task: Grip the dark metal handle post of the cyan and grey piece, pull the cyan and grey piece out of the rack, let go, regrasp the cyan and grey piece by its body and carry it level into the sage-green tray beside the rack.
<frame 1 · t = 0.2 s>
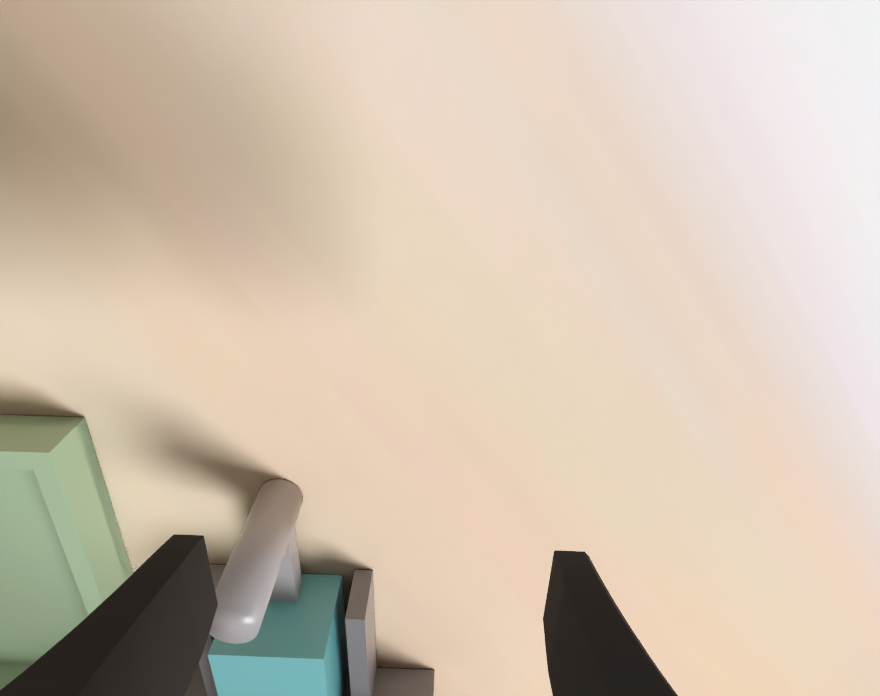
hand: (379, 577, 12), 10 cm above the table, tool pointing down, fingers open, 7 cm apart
cyan and grey piece: (297, 618, 27), on the table
tray: (10, 555, 26), on the table
rack: (297, 618, 27), on the table
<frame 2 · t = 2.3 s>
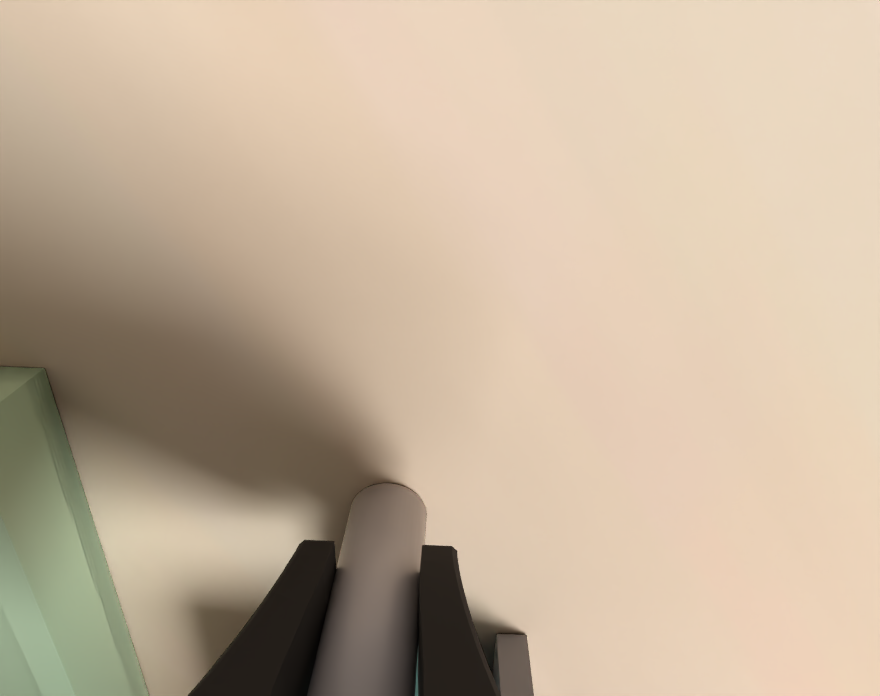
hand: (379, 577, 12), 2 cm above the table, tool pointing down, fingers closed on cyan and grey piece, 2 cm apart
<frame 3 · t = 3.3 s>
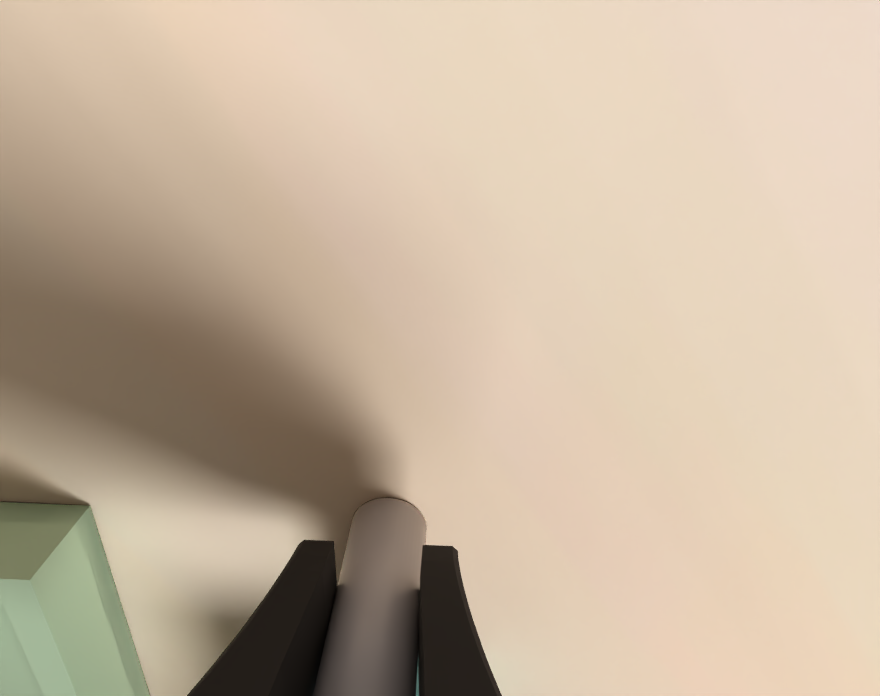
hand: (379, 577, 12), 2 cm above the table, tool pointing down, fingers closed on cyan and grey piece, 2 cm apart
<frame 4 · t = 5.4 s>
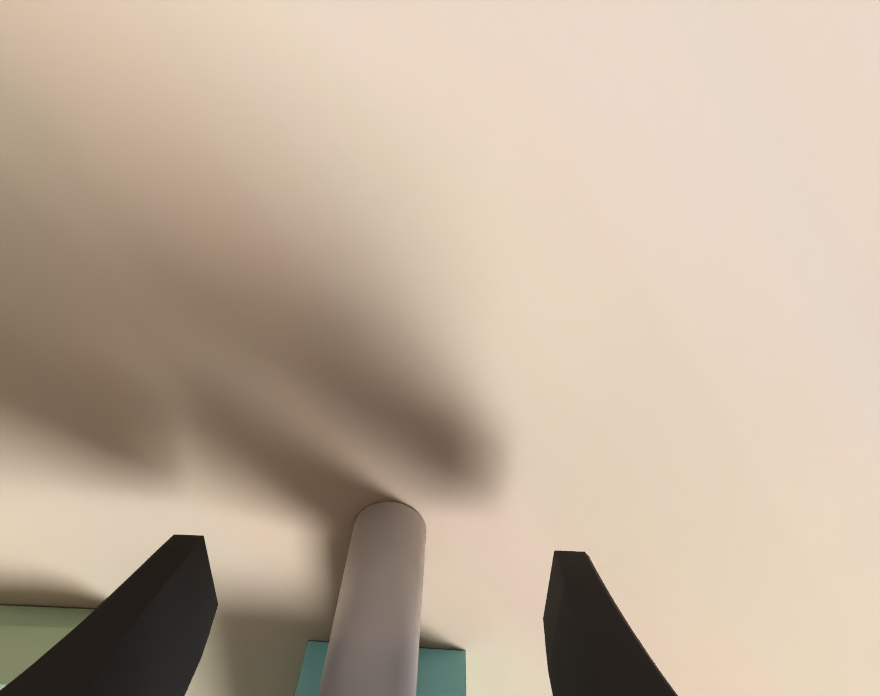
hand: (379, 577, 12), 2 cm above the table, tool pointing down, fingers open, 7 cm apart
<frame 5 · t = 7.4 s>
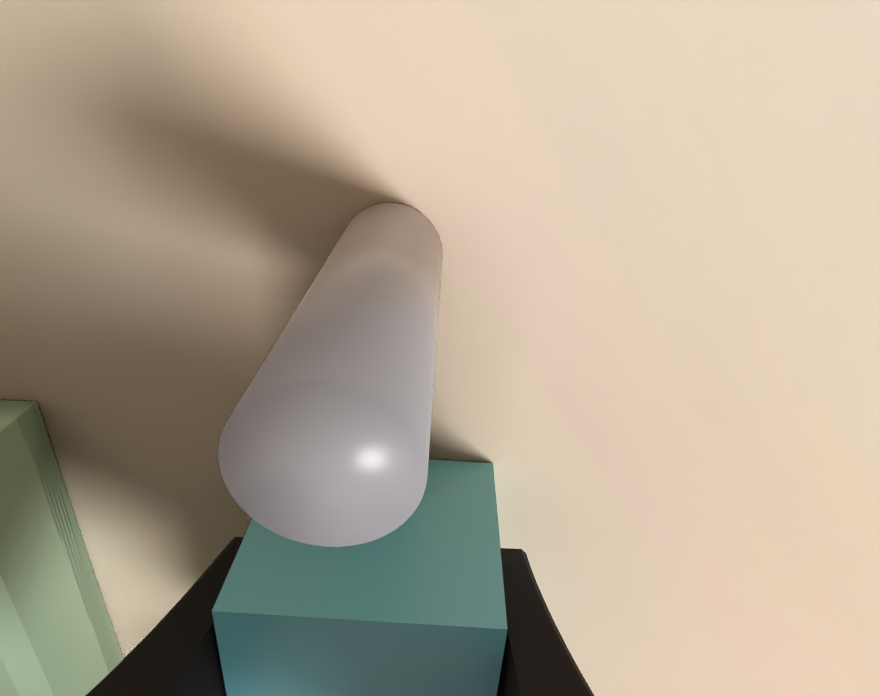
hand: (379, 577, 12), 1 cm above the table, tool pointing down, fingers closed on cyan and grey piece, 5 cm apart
cyan and grey piece: (385, 558, 14), on the table, touching gripper
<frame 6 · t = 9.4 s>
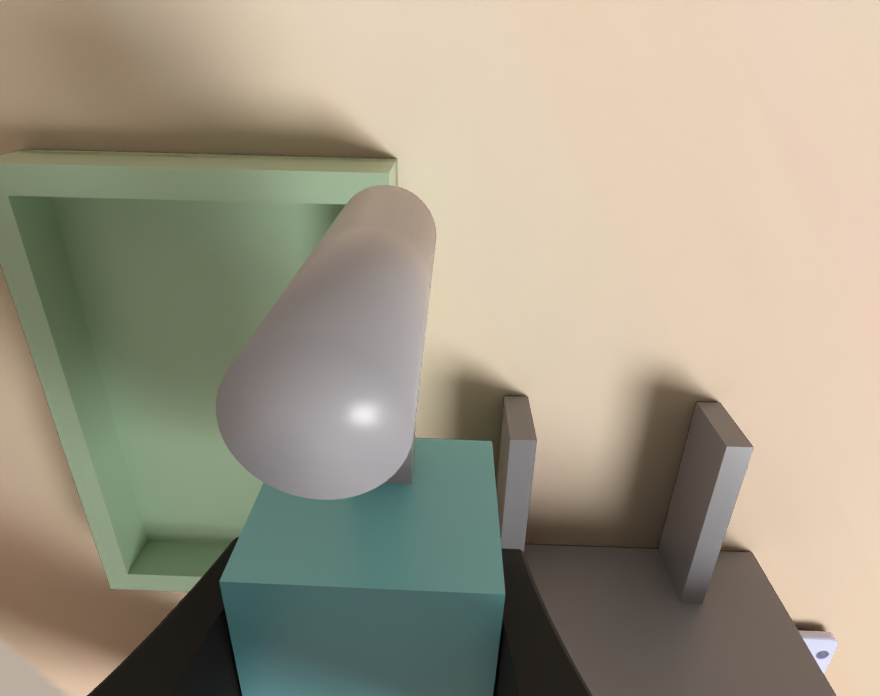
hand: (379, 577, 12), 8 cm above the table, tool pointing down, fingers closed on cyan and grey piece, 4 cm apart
cyan and grey piece: (389, 538, 14), point 7 cm above the table, touching gripper
tray: (245, 385, 20), on the table
rack: (597, 478, 21), on the table
when the fingers open (3 cm above the table, at t = 11.6 s): cyan and grey piece stays where it is, resting on tray.
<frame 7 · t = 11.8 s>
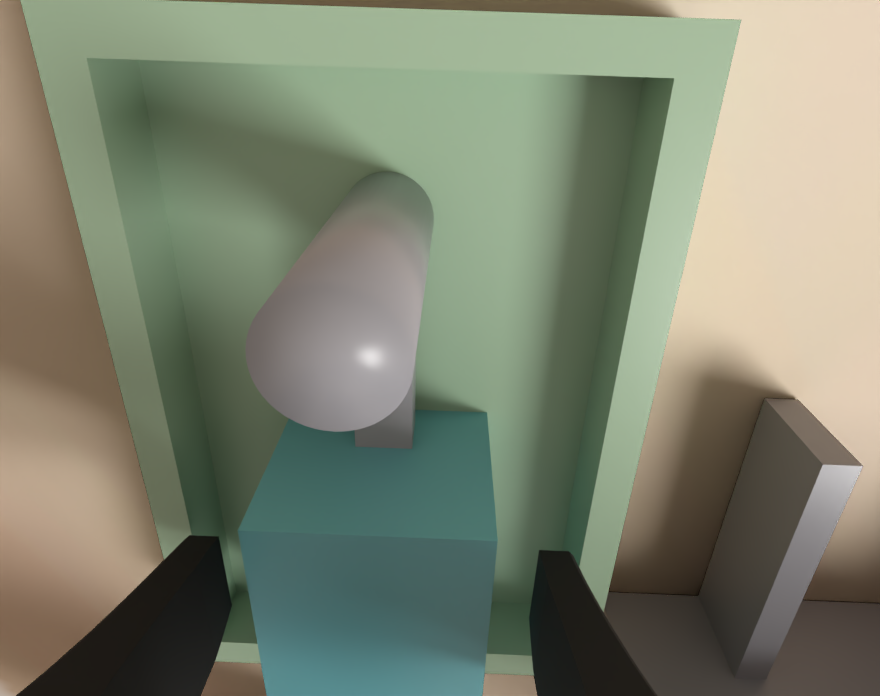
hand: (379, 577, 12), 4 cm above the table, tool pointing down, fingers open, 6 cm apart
cyan and grey piece: (392, 506, 15), point 1 cm above the table, touching tray
tray: (394, 380, 14), on the table
rack: (866, 512, 15), on the table
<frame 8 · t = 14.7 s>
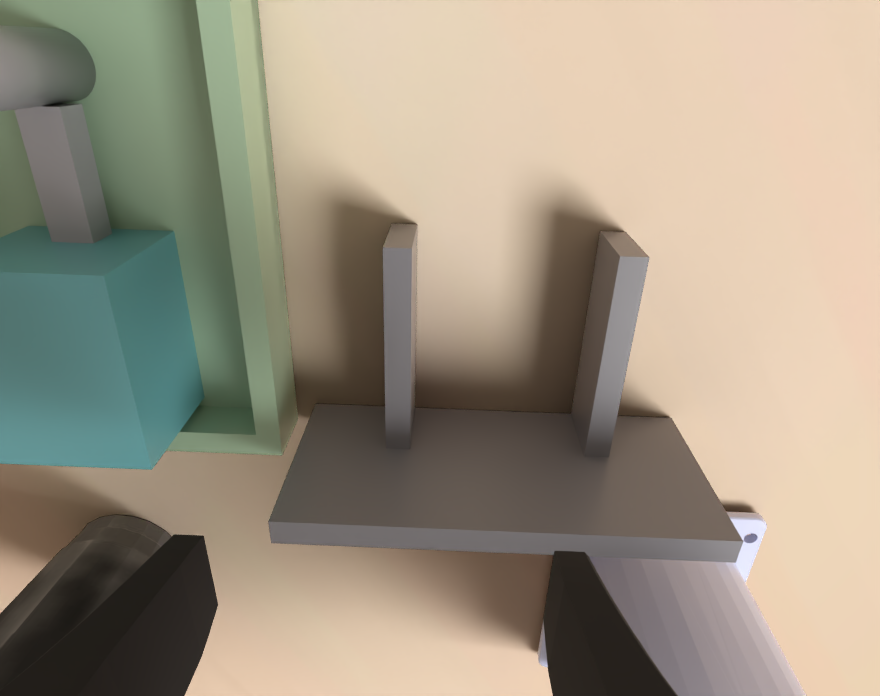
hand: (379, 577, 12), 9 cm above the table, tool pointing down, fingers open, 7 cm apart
cyan and grey piece: (122, 317, 19), point 1 cm above the table, touching tray
tray: (109, 209, 18), on the table
rack: (500, 326, 20), on the table
beverage cup: (134, 550, 25), on the table
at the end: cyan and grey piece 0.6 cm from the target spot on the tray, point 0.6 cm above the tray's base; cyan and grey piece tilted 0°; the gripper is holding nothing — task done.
